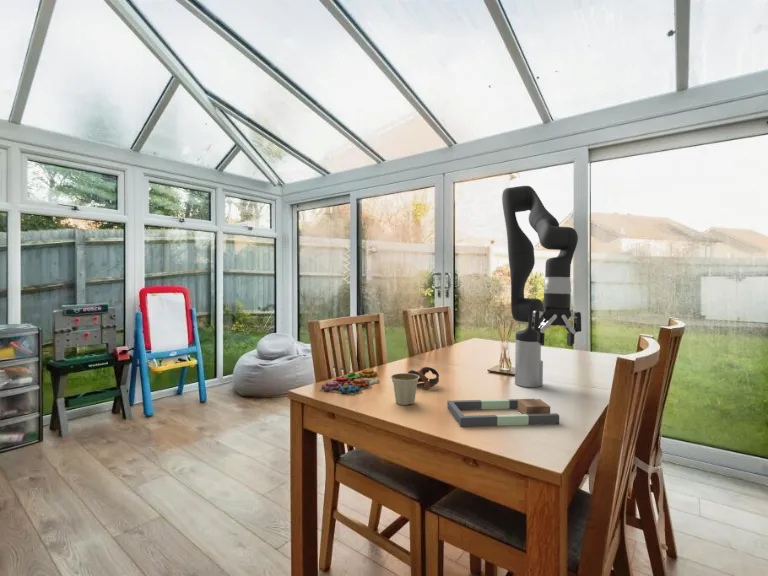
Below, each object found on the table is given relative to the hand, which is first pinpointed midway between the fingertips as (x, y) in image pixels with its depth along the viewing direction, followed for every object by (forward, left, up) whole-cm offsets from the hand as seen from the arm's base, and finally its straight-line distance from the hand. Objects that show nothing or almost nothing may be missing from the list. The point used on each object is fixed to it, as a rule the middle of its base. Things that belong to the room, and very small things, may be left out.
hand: (555, 345), depth 121 cm
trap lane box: (+17, +2, -21) cm, 27 cm away
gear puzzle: (+60, -38, -22) cm, 74 cm away
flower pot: (+44, -13, -21) cm, 51 cm away
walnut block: (+7, +2, -21) cm, 22 cm away
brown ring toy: (+35, -32, -21) cm, 52 cm away
